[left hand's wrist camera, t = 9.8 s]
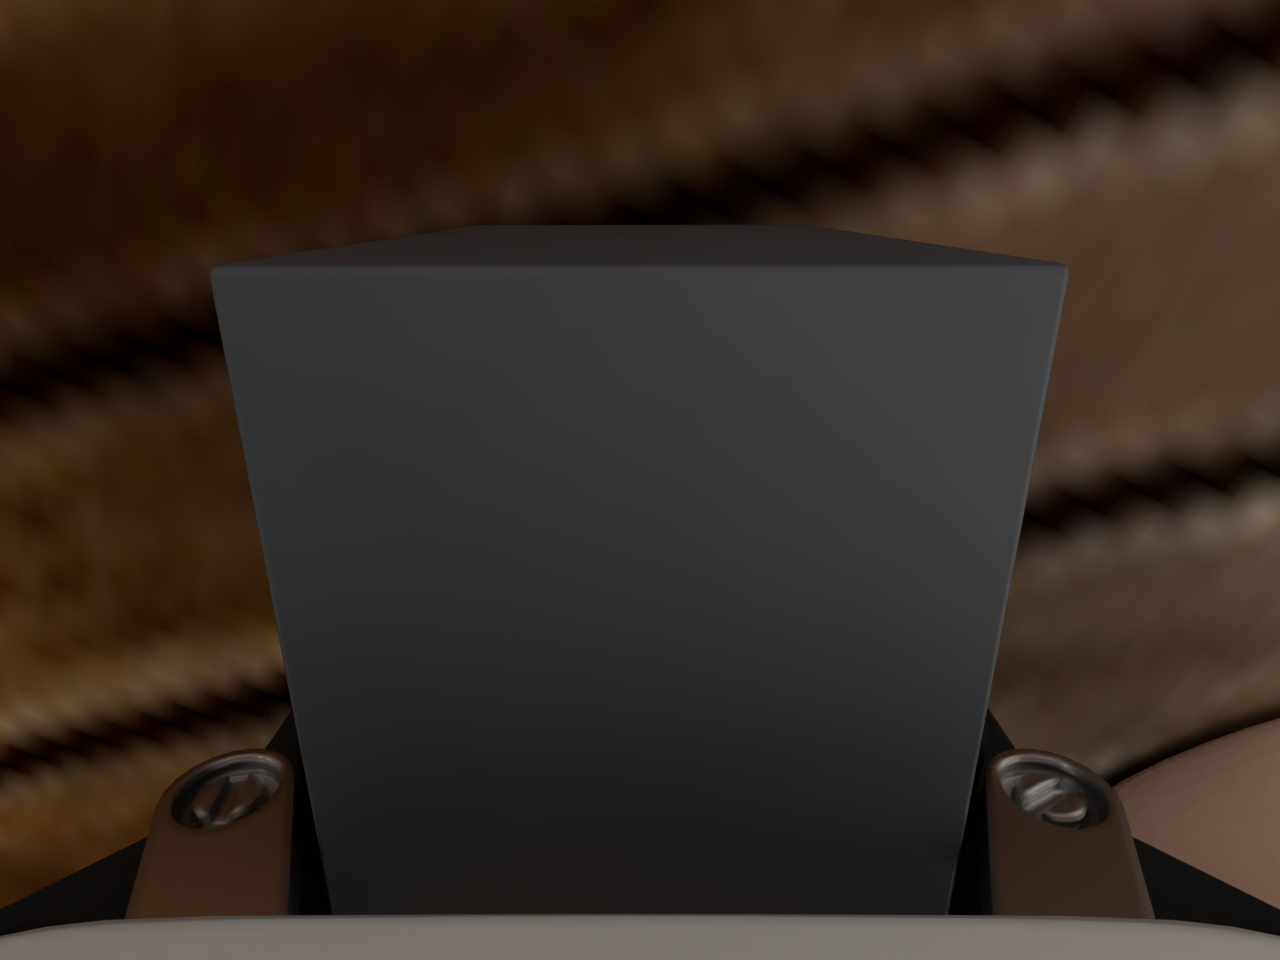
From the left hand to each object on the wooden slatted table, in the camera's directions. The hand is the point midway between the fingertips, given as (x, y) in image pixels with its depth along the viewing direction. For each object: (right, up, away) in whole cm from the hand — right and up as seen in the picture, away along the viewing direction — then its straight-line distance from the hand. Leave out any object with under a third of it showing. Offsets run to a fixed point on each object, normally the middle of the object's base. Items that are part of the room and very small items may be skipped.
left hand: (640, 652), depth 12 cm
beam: (0, -30, +15) cm, 33 cm away
